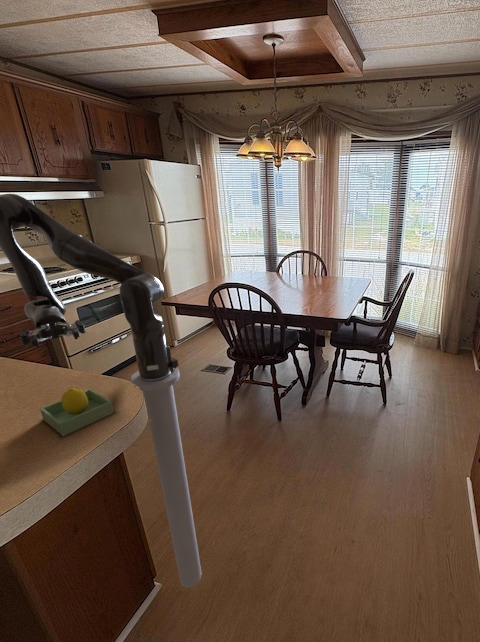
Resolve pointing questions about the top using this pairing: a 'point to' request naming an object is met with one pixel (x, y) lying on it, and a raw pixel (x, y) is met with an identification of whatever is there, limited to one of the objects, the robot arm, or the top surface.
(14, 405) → the top surface
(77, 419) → the bin
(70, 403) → the lemon
